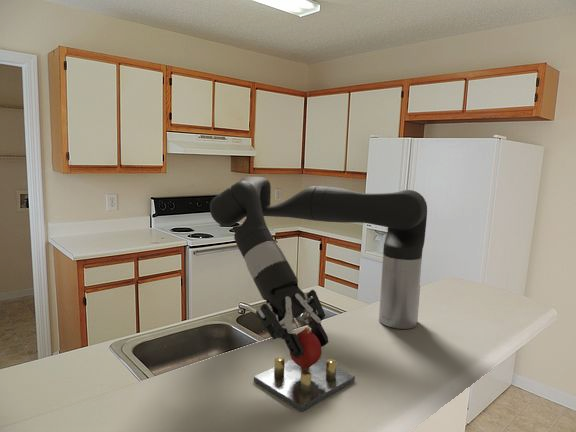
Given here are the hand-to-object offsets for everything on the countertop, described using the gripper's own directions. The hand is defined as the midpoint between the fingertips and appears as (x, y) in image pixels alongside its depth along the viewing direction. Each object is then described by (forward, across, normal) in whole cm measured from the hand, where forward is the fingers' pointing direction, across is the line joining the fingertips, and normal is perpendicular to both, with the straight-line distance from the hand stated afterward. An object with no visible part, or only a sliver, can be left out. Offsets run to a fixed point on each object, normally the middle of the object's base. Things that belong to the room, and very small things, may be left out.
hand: (312, 350), depth 73 cm
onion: (+2, 0, -4) cm, 5 cm away
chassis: (+4, 0, -6) cm, 7 cm away
